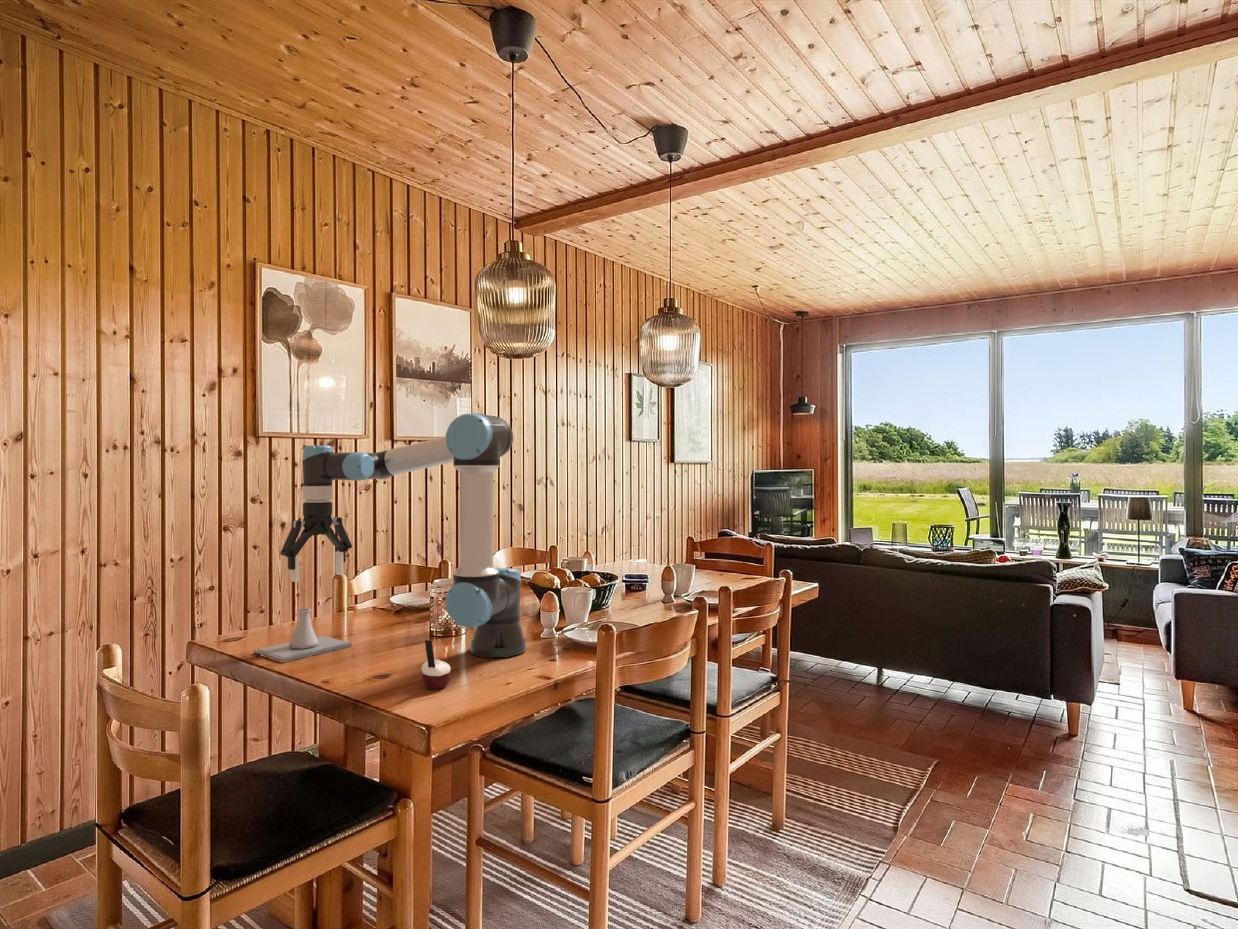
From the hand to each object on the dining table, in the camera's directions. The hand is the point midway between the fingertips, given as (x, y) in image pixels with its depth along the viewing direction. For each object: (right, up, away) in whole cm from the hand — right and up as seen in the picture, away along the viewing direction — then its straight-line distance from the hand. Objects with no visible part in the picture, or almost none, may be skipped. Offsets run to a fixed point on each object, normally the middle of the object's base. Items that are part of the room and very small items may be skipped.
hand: (317, 578), depth 194 cm
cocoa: (+41, -21, -31) cm, 55 cm away
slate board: (-3, -19, -2) cm, 20 cm away
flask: (-3, -18, -2) cm, 19 cm away
